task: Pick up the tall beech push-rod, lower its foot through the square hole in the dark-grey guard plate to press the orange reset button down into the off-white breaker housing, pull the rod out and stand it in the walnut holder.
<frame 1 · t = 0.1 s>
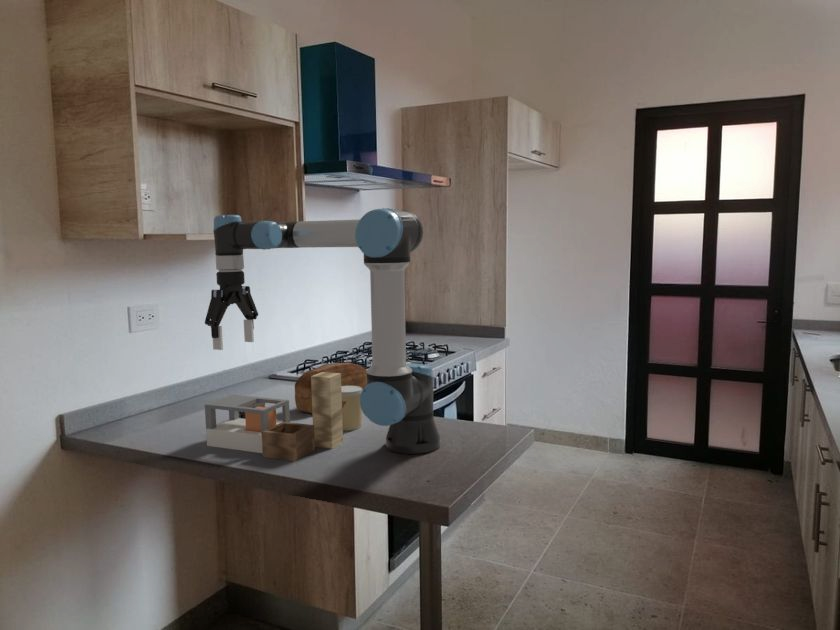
hand: (234, 345, 188), 28 cm above the counter, fingers open, 13 cm apart
coffee cup: (348, 427, 204), on the counter
electrical switch: (251, 428, 205), on the counter
holder: (289, 453, 180), on the counter
breaker box: (249, 443, 189), on the counter
reset button: (261, 420, 187), point 7 cm above the counter, slide at 0.0 cm
bread: (333, 406, 230), on the counter
push rod: (328, 444, 187), on the counter
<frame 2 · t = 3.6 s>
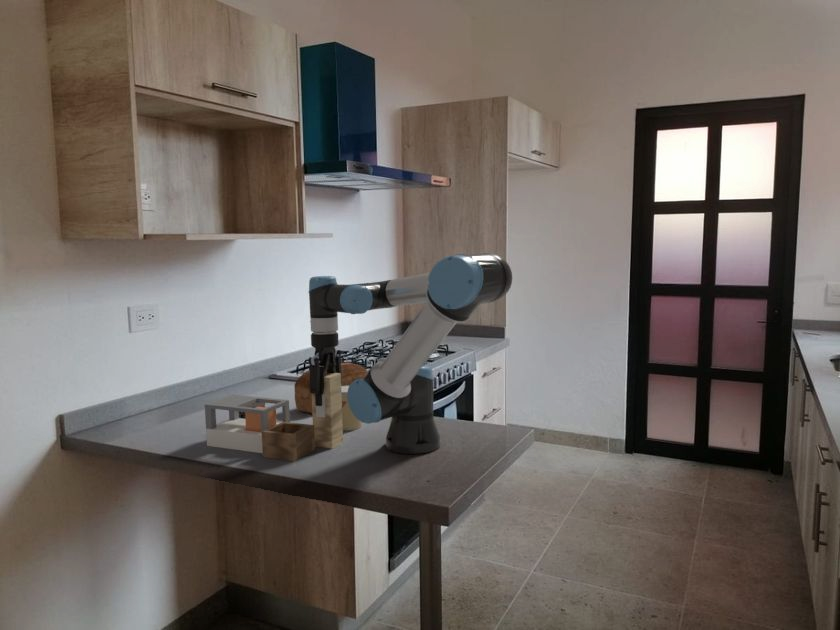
hand: (327, 413, 186), 9 cm above the counter, fingers closed on push rod, 6 cm apart
push rod: (328, 444, 187), on the counter, touching gripper
everything else where it was.
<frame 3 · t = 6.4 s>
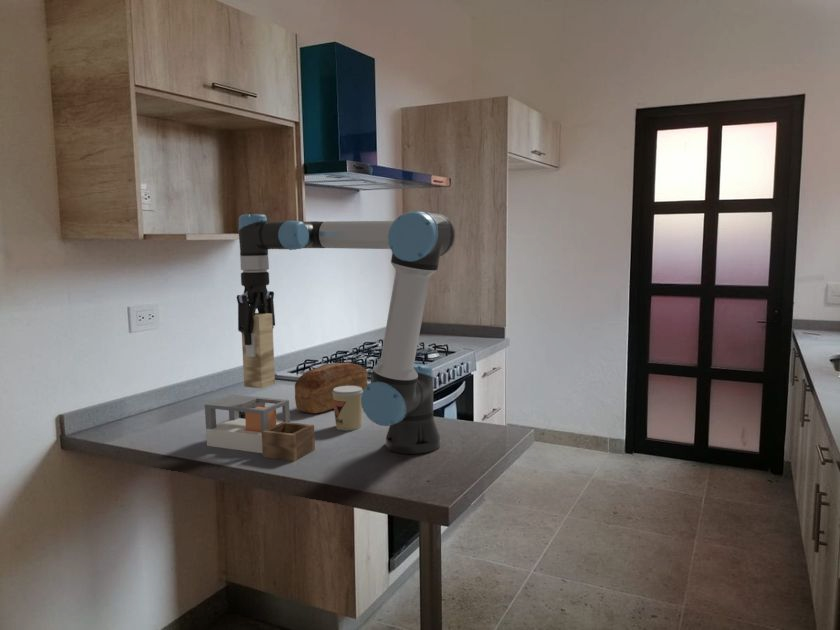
hand: (258, 354, 184), 26 cm above the counter, fingers closed on push rod, 6 cm apart
push rod: (259, 385, 185), point 17 cm above the counter, touching gripper
everything else where it was.
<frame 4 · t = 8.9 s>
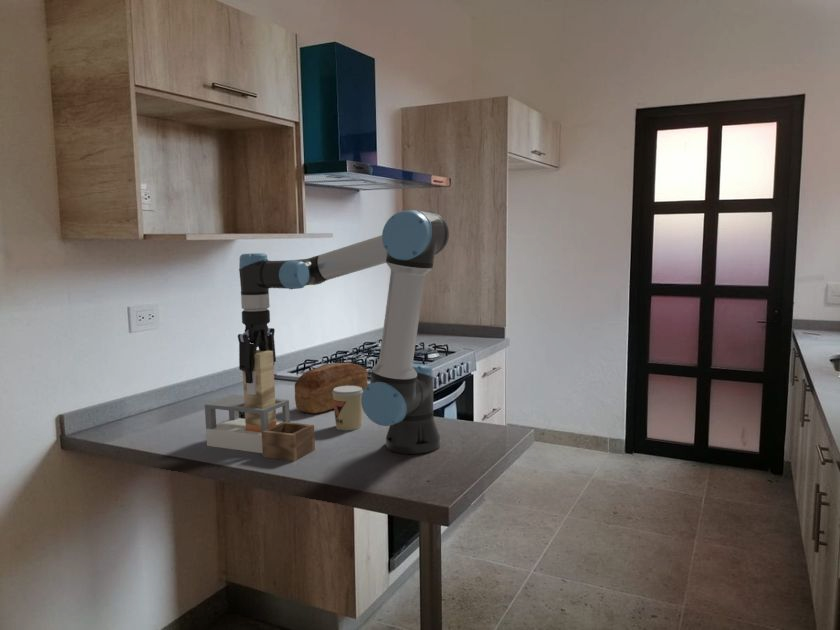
hand: (259, 391, 186), 16 cm above the counter, fingers closed on push rod, 6 cm apart
reset button: (261, 432, 187), point 4 cm above the counter, slide at 3.6 cm, touching push rod
push rod: (260, 422, 187), point 7 cm above the counter, touching gripper, reset button
everything else where it was.
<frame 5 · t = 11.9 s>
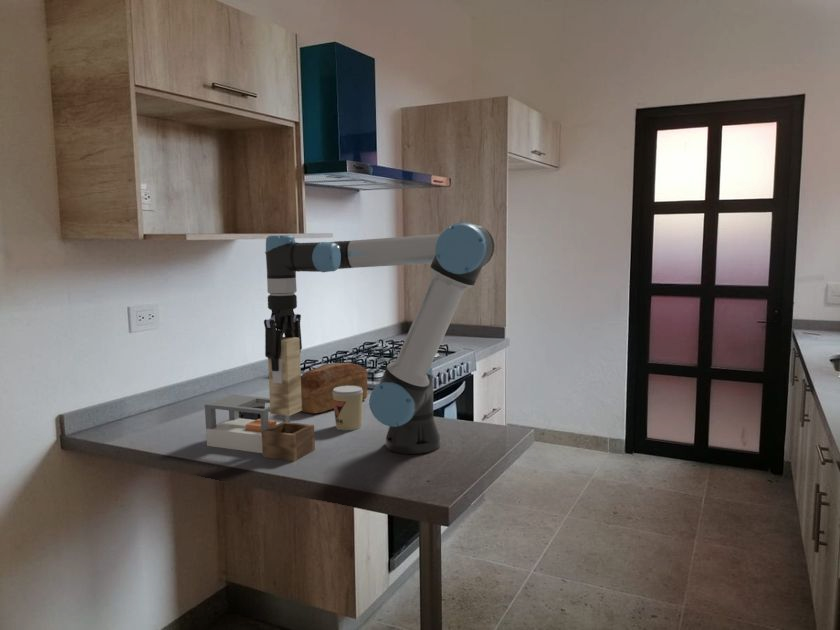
hand: (285, 379, 177), 20 cm above the counter, fingers closed on push rod, 6 cm apart
reset button: (261, 433, 187), point 3 cm above the counter, slide at 3.7 cm
push rod: (286, 412, 178), point 11 cm above the counter, touching gripper
everything else where it was.
when the fingers open (10 cm above the counter, at t = 14.4 s): push rod stays where it is, resting in holder.
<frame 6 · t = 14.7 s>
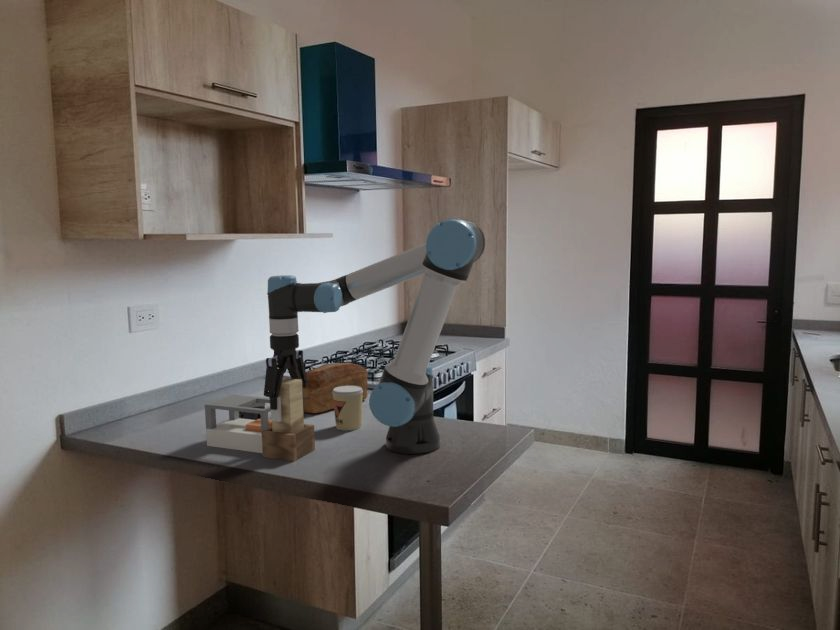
hand: (287, 416, 178), 10 cm above the counter, fingers open, 9 cm apart
push rod: (289, 453, 180), resting in holder
everything else where it was.
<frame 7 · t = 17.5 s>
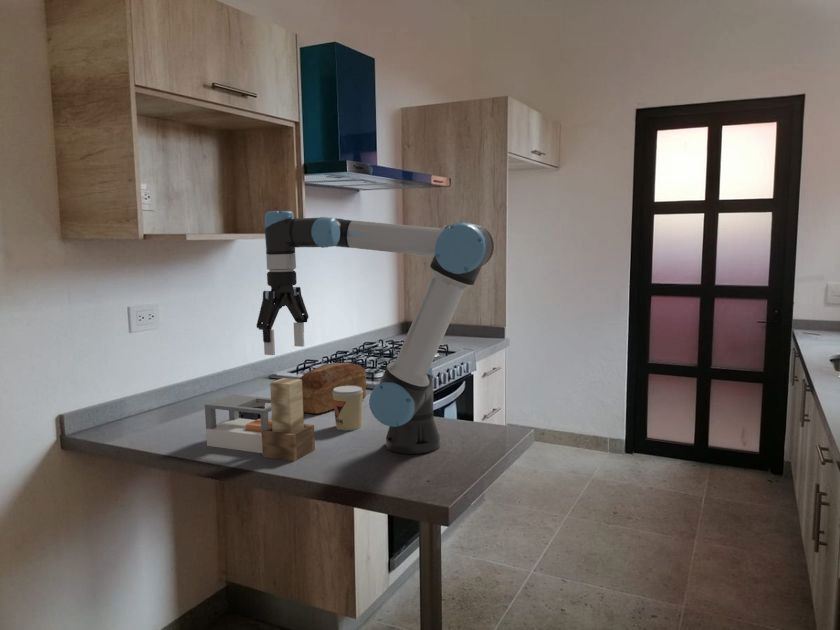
hand: (285, 350, 176), 28 cm above the counter, fingers open, 13 cm apart
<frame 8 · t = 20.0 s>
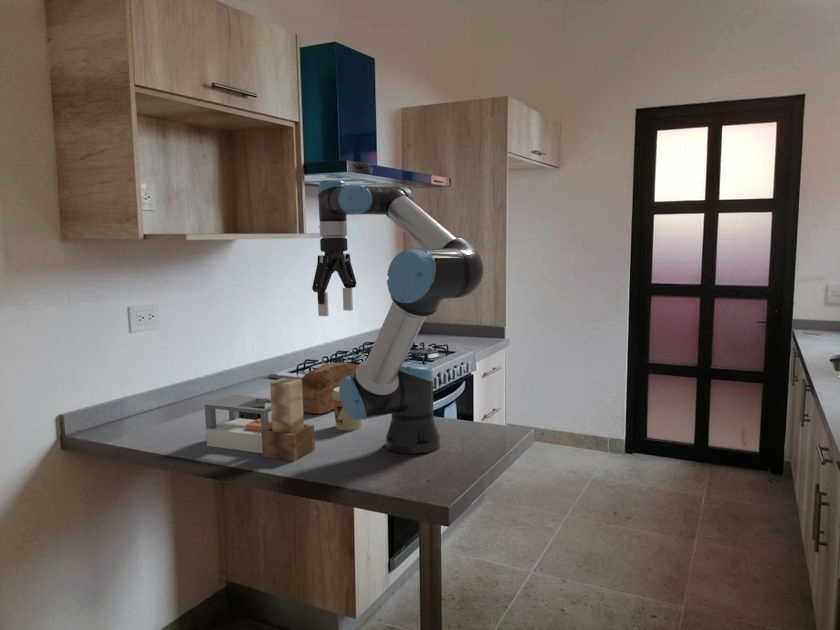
hand: (336, 313, 187), 37 cm above the counter, fingers open, 13 cm apart
at the end: reset button slide at 3.7 cm; push rod inside the target area on the holder (0.0 cm from its centre), point 0.0 cm above the holder's base; push rod tilted 0° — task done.
